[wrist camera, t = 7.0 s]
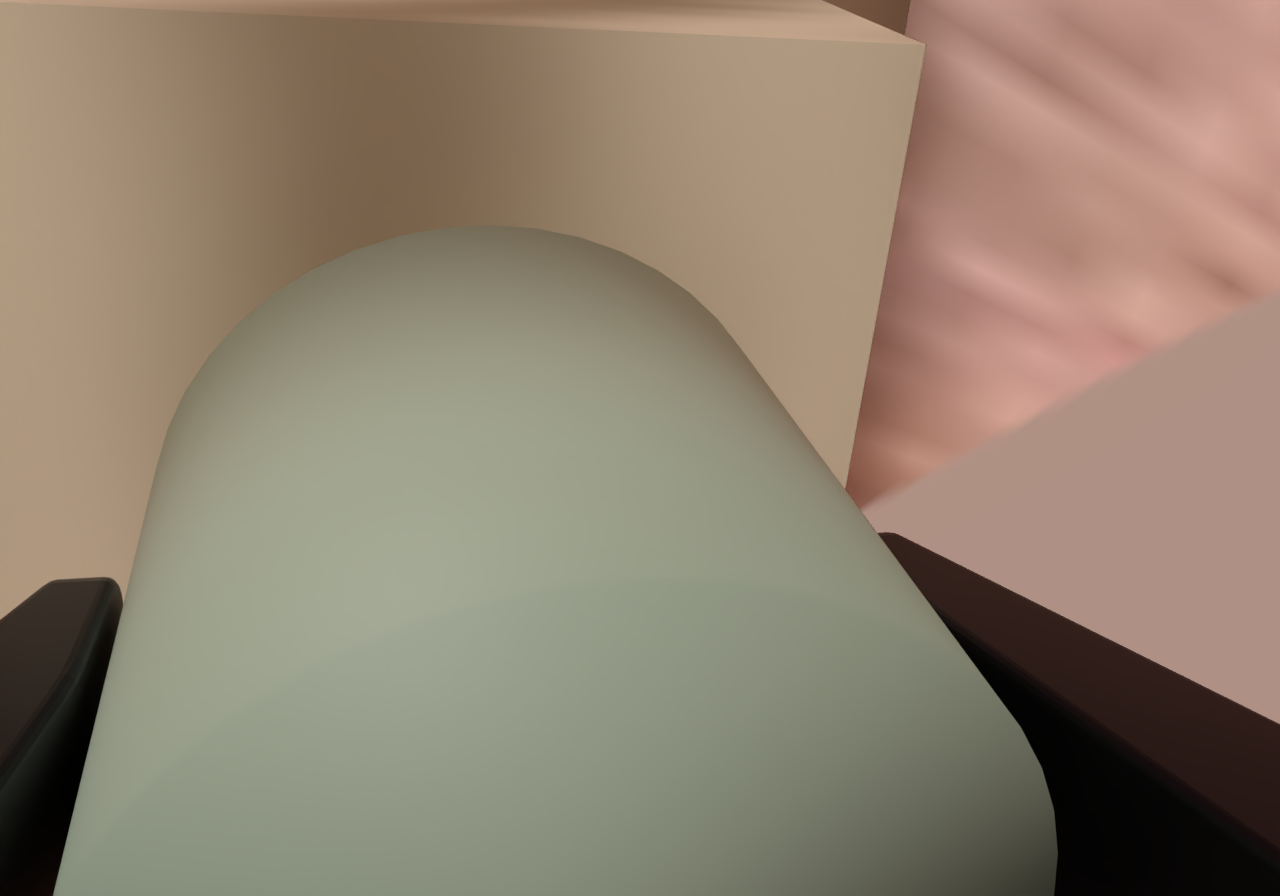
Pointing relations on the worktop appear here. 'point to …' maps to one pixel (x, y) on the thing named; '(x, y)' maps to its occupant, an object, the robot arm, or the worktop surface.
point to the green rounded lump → (527, 617)
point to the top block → (408, 196)
